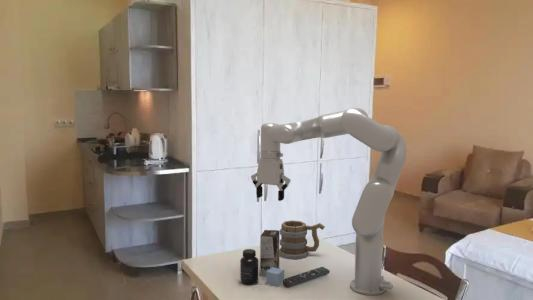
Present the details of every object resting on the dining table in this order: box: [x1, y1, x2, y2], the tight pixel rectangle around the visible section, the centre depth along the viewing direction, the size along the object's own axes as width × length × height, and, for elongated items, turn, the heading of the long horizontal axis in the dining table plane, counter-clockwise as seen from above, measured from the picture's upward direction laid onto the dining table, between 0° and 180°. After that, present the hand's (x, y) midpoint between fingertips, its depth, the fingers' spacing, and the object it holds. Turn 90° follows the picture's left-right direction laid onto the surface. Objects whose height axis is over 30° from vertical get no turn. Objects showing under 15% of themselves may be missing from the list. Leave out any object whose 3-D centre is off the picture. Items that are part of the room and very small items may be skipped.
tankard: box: [279, 220, 325, 260], centre depth 193 cm, size 20×13×15 cm, turn 73°
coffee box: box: [259, 229, 280, 277], centre depth 174 cm, size 9×6×16 cm
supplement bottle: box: [239, 248, 259, 286], centre depth 165 cm, size 7×7×12 cm
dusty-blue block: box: [265, 267, 285, 288], centre depth 164 cm, size 5×5×5 cm
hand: (270, 198), depth 171 cm, fingers open, 9 cm apart
